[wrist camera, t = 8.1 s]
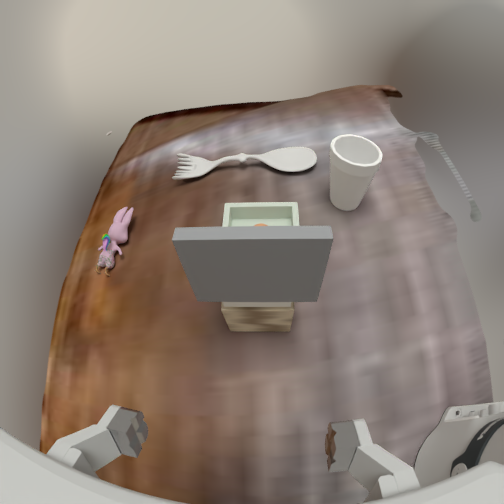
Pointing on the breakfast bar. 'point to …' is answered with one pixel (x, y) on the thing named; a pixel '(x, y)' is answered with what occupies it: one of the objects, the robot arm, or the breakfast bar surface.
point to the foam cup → (352, 169)
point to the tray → (261, 214)
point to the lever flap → (254, 263)
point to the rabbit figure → (114, 239)
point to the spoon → (278, 159)
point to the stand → (259, 318)
